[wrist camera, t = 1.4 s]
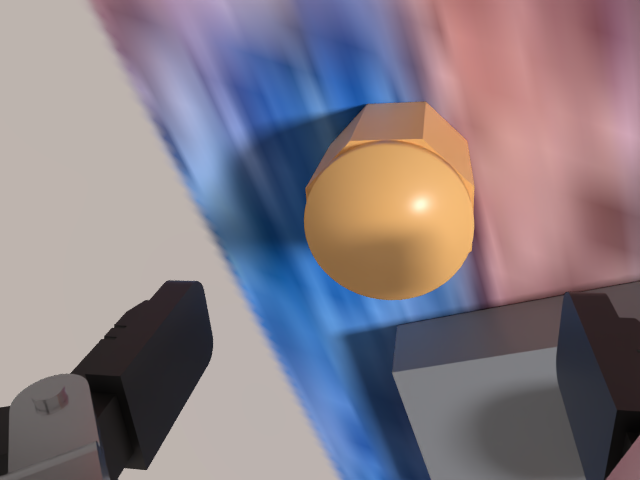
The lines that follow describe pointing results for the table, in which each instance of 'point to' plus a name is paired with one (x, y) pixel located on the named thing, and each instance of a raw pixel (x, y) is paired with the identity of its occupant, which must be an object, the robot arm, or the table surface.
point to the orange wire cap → (392, 203)
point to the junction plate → (493, 390)
